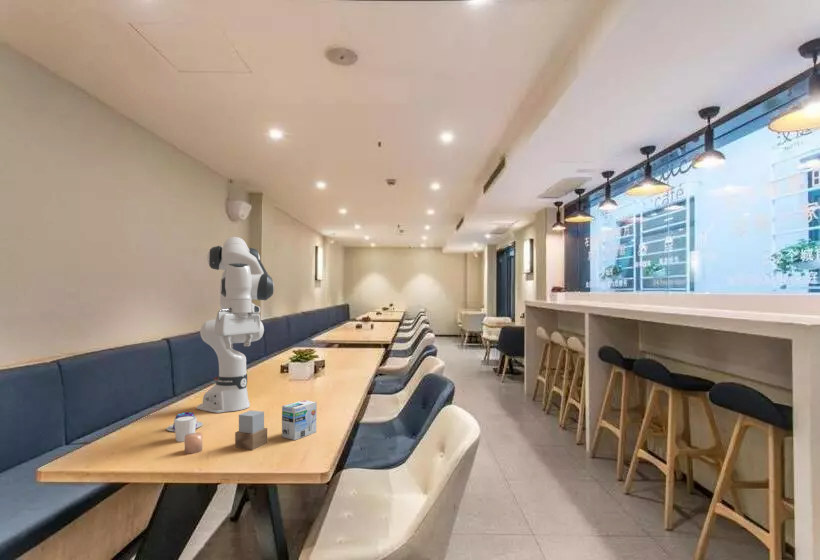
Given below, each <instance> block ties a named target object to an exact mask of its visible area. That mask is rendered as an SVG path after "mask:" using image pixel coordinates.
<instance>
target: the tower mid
mask: <svg viewBox="0 0 820 560" xmlns="http://www.w3.org/2000/svg"><path fill="white" fill-rule="evenodd" d="M264 428H265V411H260V410H248V411H245V412H243V413H240V414H238V431H239V432H243V433H251V434H253V433H255V432H257V431H260V430H262V429H264Z"/></svg>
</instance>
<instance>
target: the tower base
mask: <svg viewBox="0 0 820 560" xmlns="http://www.w3.org/2000/svg"><path fill="white" fill-rule="evenodd" d="M234 439H235V440H234V441H235V442H234V444H235V445H234V448H236V449H243V450H249V451H254V450H256V449H258V448H260V447H263V446H264V445H266V444H268V428H267V427H264V429H262V430H260V431H257V432H255V433H253V434H251V433H243V432H239V430H238V431H235V432H234Z"/></svg>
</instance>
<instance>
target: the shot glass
mask: <svg viewBox="0 0 820 560" xmlns="http://www.w3.org/2000/svg"><path fill="white" fill-rule="evenodd" d="M175 418H176V417H175ZM175 418H174V420H173V424H174V425H175V431H174V433H175V441H176V442H178V443H179V442H180V443H183V442H184V443H185V435H187V434H190V433H196V429H197V428H196V421H197V418H198V417H197V416H195V415H194V416H184V417H179V418H176V419H175Z"/></svg>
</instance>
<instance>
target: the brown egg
mask: <svg viewBox="0 0 820 560" xmlns="http://www.w3.org/2000/svg"><path fill="white" fill-rule="evenodd" d="M202 451H203V433H202V432H195V433H190V434H187V435H185V442H184V454H186V455H193V454H198V453H201V452H202Z"/></svg>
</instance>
